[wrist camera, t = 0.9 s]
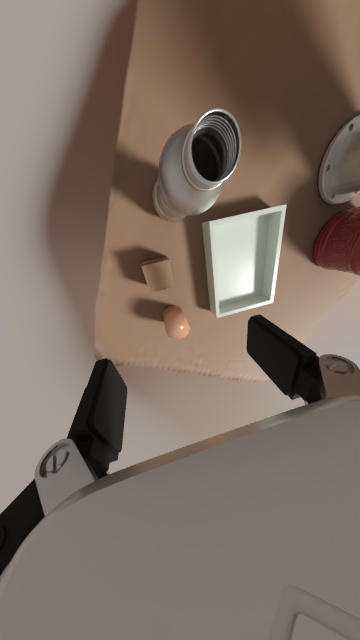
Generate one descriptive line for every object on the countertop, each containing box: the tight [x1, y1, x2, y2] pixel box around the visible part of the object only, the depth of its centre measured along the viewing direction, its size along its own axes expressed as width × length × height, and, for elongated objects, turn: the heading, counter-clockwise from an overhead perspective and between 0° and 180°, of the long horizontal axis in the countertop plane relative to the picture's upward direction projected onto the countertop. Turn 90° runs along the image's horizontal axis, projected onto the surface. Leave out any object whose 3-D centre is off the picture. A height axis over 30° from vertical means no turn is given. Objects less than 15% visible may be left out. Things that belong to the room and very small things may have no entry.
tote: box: [202, 204, 287, 318], centre depth 34 cm, size 15×20×4 cm
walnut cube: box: [142, 256, 175, 293], centre depth 30 cm, size 5×5×5 cm
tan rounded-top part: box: [163, 305, 190, 339], centre depth 35 cm, size 5×5×7 cm
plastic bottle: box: [152, 108, 242, 222], centre depth 19 cm, size 6×7×20 cm
